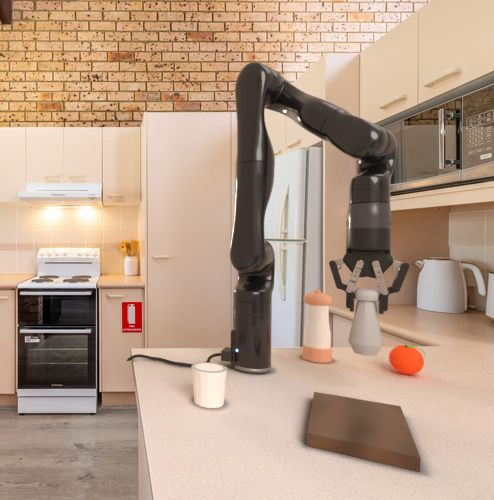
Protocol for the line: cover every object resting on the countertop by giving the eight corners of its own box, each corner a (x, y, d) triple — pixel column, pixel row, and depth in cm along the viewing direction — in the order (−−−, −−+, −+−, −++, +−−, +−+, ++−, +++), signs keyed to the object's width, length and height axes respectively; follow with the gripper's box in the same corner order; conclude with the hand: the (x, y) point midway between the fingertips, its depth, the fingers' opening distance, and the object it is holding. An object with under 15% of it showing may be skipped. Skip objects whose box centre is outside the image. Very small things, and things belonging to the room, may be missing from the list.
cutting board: (306, 445, 60) (306, 432, 60) (314, 401, 78) (314, 391, 78) (420, 471, 53) (420, 457, 53) (400, 417, 71) (400, 406, 71)
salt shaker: (387, 358, 75) (389, 290, 75) (354, 356, 76) (356, 289, 76) (374, 350, 81) (376, 287, 80) (343, 348, 82) (345, 286, 82)
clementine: (416, 370, 98) (416, 342, 98) (435, 379, 91) (436, 349, 91) (382, 369, 99) (382, 341, 99) (399, 378, 92) (399, 347, 92)
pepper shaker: (320, 364, 103) (321, 291, 103) (296, 357, 109) (297, 288, 109) (337, 360, 106) (338, 290, 106) (313, 354, 113) (314, 287, 112)
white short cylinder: (227, 398, 79) (228, 363, 79) (225, 411, 72) (225, 374, 72) (193, 393, 81) (194, 360, 81) (188, 406, 75) (188, 370, 75)
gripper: (409, 227, 78) (407, 313, 78) (328, 227, 85) (326, 306, 85) (415, 225, 71) (413, 319, 71) (327, 226, 78) (325, 311, 79)
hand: (365, 311), depth 78 cm, fingers closed on salt shaker, 4 cm apart
